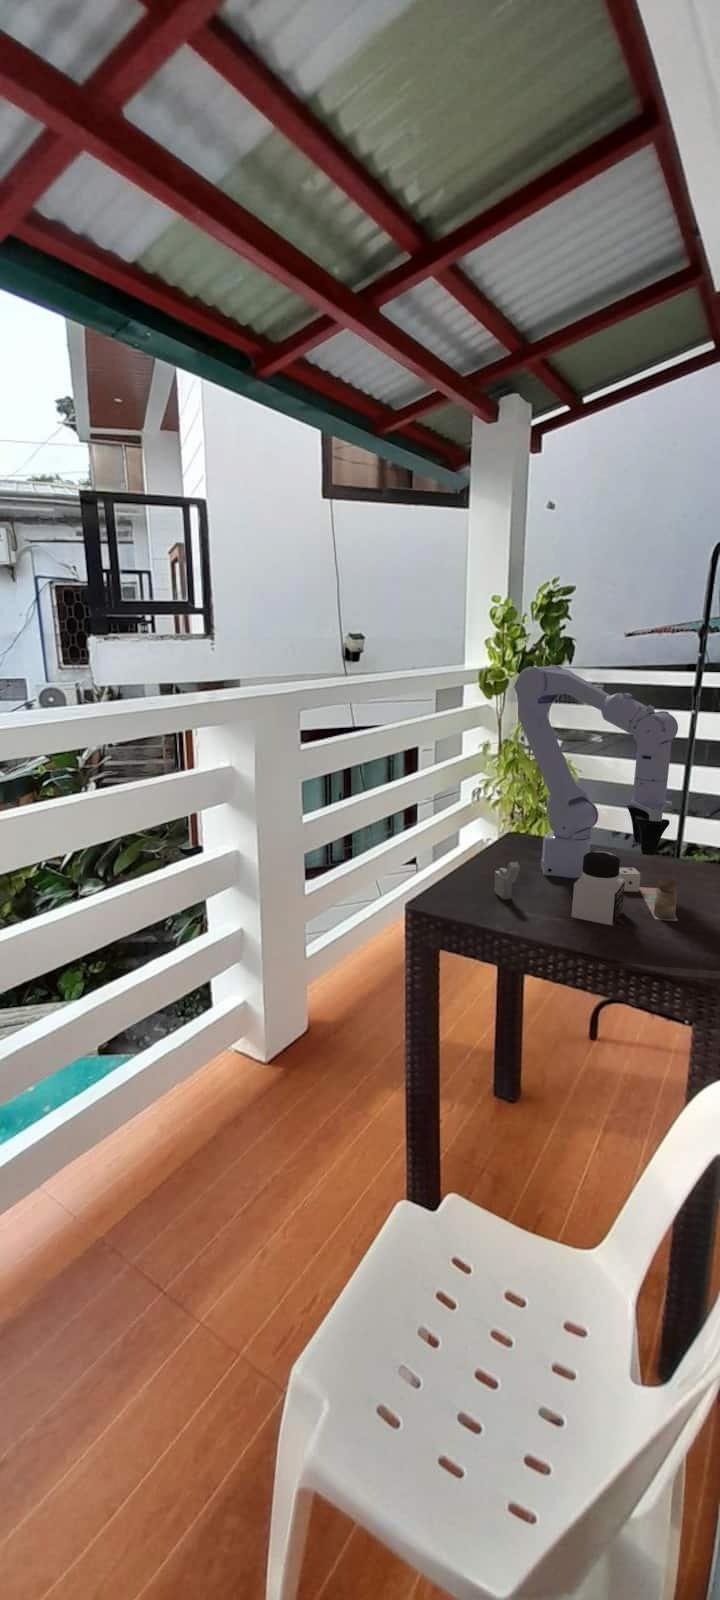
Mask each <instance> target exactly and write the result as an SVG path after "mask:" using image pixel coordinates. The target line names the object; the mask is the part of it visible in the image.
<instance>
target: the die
mask: <svg viewBox="0 0 720 1600" xmlns="http://www.w3.org/2000/svg"><path fill="white" fill-rule="evenodd" d="M619 878H621V879H624V880H625V885H624V892H637V893H639V892H640V890H639V887H640V884H641V873H640V872H639V871H638V870H637V869H636V868H635V867H619Z"/></svg>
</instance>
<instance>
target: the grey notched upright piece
mask: <svg viewBox="0 0 720 1600" xmlns="http://www.w3.org/2000/svg"><path fill="white" fill-rule="evenodd" d="M520 871H521V866H520V864H519V862H518V861H511V862H509V863H508V865H507V868H505V867H501V868H499V869H498V870H495V872H494V890H493V892H494V894H496V895H497V896H498V897H499V898H501V899H502V900H511V899H512V891H513V889H512V888H513V886H512V885H513V883H516V882H517V879H518V876H519V873H520Z"/></svg>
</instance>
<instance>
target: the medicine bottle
mask: <svg viewBox="0 0 720 1600" xmlns="http://www.w3.org/2000/svg"><path fill="white" fill-rule="evenodd" d="M620 863H621V859H620V858H619V856H617V855H616V854H613V853H611V852H608V851H600V850H599V851H598V850H596V851H591V852H590V853H587V854H585V855H584V857H583V869H582V876H581V877H580V878H577V880H576V881H575V882H574V884H573V892H572V894H573V895H572V896H573V897H572V904H571V905H572V907H571V918H573V919H579V920H583V921H590V922H594V923H598V924H599V923H600V924H604V925H609V926H615V924H616V922H617V921H618V920H619V918H620V916H621V915H622V913H623V905H624V895H625V894H624V893H625V891H624V885H625V880H624V879H621V878H619V868H621V867H620V866H621V864H620Z"/></svg>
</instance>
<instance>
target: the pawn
mask: <svg viewBox="0 0 720 1600" xmlns="http://www.w3.org/2000/svg"><path fill="white" fill-rule="evenodd" d="M656 888H657V887H656ZM676 889H677V883H676V881H675V880H674V878H671V877H667V876H665V877H663V878H661V879H660V881H659V883H658V888H657V889H656V898H655V907H654V915H655V916H656V917H658V918H661V919H674V918H675V916H676V910H677V900H678V891H677V890H676Z"/></svg>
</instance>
